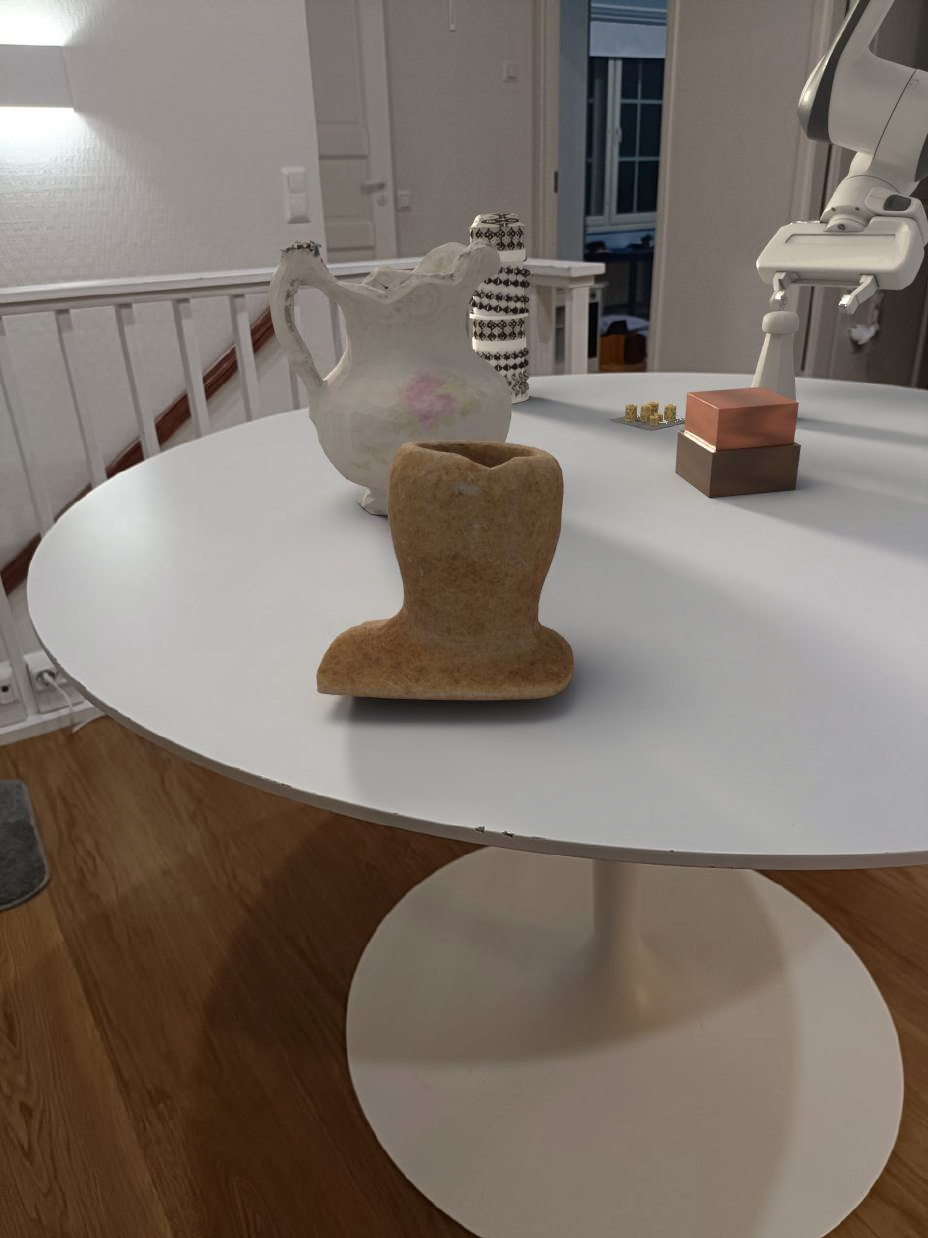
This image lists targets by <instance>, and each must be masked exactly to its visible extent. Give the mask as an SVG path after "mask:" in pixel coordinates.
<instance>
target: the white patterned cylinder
mask: <svg viewBox="0 0 928 1238" xmlns="http://www.w3.org/2000/svg"><path fill="white" fill-rule="evenodd" d="M525 226H526V224H524V223H523V221H522V220H521V217H520V216H519V215H518V214H517V213H515V212H502V213H501V212H499V213H482V214H478V215H476V217H475V218H474V220H473V222H472V225H470V226H469V227H467V228H468V229H469V241H470V243H469V245H470V244H471V243H473V242H475V241H476V240H478V239H479V238H482V240H483V241H487V242H489V243H492V244H496V245H497V252H498V253H499V255H500V261H501V269H500V271H499V272H498V274H496V275H493V276H491V277H490V278H488V279H487V280H485V281H483V282H482V283H480V285H479V286H478V288H477V289H476V290H475V292H474V294H473V296H472V298H471V300H470V302H469V306H471V307H472V310H470V311H469V312H468V314H469V319H472V332H473V337H472V338H471V339H472V348H473V350H474V351H475V352H476V353H477V354H478V355H479V356H480V357H481V358H483V359H484V360H486V361H487V362H488V363H489V364H490V365H491V366H492V367H493V368H494V369H496V370H497V371H498V372H499V373H500V374H501V375H502V376H503V377H504V378H505V379H506V381H507V384H508V386H509V389H510V391H511V398H512V404H518V403H522V402H526V401H527V400H529V397H530V396H529V393H528V392H527V391H529V389H530V384H529V383H528V380H529V379H530V373H529V371H528V370H526V367H528V366H529V365H530V363H529V359H527V358H525V357H527V356H528V355H529V353H530V351H529V349H528V348H527V335H526V321H525V320H526V319H525V318H526V317H528V316H529V313H530V309H528V308H527V307H526V304H528V303H529V302H530V298H529V296H527V295H526V294H525V293H524V292H525V291H526V290H527V289H528V288H530V286H531V282H529V281H528V280H527V279H526V278H528V277H529V276H530V275H531V271H530V270H529V269H528V268H526V267H524V263H525V262H527V260H528V257H527V256H526V248H525ZM499 246H500V247H499ZM524 279H525V280H524Z"/></svg>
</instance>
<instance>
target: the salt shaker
mask: <svg viewBox="0 0 928 1238" xmlns="http://www.w3.org/2000/svg"><path fill="white" fill-rule="evenodd" d="M761 324H762V325H761V329H762V331H763V333H766V334H765V338H764V341H763V345H762V348H761V351H760V355H759V358H758V361H757V365H756V369H755V372H754V376H753V379H752V383H751V387H750V388H753V387H762V388H764V389H767V390H769V391H772V392H774V393H776V394H779V395H781V396H784V397H786V398H788V399H791V400H793V401H796V402H797V389H796V373H795V361H794V346H793V345H794V342H793V334H794V333H796V332H798V330H799V329H800V316H799V315H798V314H797V312H793V311H790V310H789V311H787V310H786V311H785V310H784V311H783V310H779V311H777V310H776V311H772V312H768V313H766V314H765V315H764V316H763V319H762V323H761Z"/></svg>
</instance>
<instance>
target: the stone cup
mask: <svg viewBox="0 0 928 1238" xmlns="http://www.w3.org/2000/svg"><path fill="white" fill-rule="evenodd" d="M564 483H565V482H564V476H563V469H562V467H561V465H560V463H559V460H557V458H556V457H555V456H554V455H552V454H551V453H550V452H548V451H546V450H544V449H541V448H538V447H535V446H530V445H525V444H520V443H514V442H506V441H505V442H494V441H466V440H455V441H442V440H435V441H428V442H427V441H412V442H408V443H405V444H403V445H402V446H400V447H399V448H398V450H397V452H396V454H395V456H394V458H393V461H392V465H391V468H390V472H389V477H388V484H387V512H388V515H387V520H388V525H389V526H388V527H389V529H390V535H391V540H392V545H393V551H394V554H395V558H396V561H397V565H398V568H399V573H400V577H401V581H402V589H403V590H402V591H403V602H402V606H401V608H400V609H399V610H398V612H397V613H396V614H395V615H393V616H392V617H390V618H383V619H374V620H366V621H363V622H361V624H359V625H354V626H350V627H349V628H347V629H346V630H344V631H342V632H340V633H339V634H338V635H337V636H336V637H335V638H334V639H333V641H332V642H331V643H330V645H329V647H328V648H327V650H326V651H325V653H323V656H322V659H321V661H320V663H319V666H318V668H317V670H316V676H315V678H316V692H318V693H319V694H322V695H330V696H344V697H345V696H346V697H361V698H365V697H366V698H378V699H379V698H380V699H395V700H396V699H401V700H402V699H403V700H404V699H405V700H427V701H428V700H432V701H434V700H435V701H514V700H535V699H542V698H543V699H544V698H548V697H553V696H555V695H557V694H559V693H560V692H562V691H564V690H565V689H566V688H567V686H568V685H569V683H570V681H571V679H572V677H573V675H574V671H575V657H574V653H573V649H572V646H571V644H570V643H569V642H568V641H567V639H565V637H564V636H563V635H562V634H560V633H559V632H558V631H556V630H554V629H552V628H550V627H547V626H545V625H542V624H541V622H540V619H539V608H540V601H541V594H542V591H543V588H544V585H545V582H546V579H547V576H548V574H549V572H550V569H551V566H552V563H553V560H554V557H555V554H556V552H557V549H558V548H557V547H558V544H559V540H560V536H561V531H562V519H563V518H562V516H563V515H562V514H563V504H564V491H565V490H564V488H565V487H564V486H565V485H564Z"/></svg>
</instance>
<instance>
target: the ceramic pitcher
mask: <svg viewBox="0 0 928 1238" xmlns="http://www.w3.org/2000/svg"><path fill="white" fill-rule="evenodd" d="M322 246H323V245H322V244H321V243H318V242H314V241H312V240H309V242H306V241H305V242H302V241H299V240H296V241H295V243H294V244H292V242H287V247H286V248H285V249H284V248H283V249H282V248H281V249H280V251H281V255H280V259H279V263H278V264H277V267H276V268H275V270H274V272H273V273H272V275H271V277H270V283H269V288H268V301H269V309H270V317H271V322H272V326H273V330H274V335H275V338H276V340H277V342H278V343H279V345H280V347H281V349H282V351H283V353H284V355H285V358H286V359H287V361H288V363H289V365H290V367H291V369H292V371H293V372H294V374H296V375H297V376H298V378H300V380H301V382H302V384H303V385H304V388H305V391H306V399H307V407H308V418H309V419H310V421H311V422H312V424H313V426H314V427H315V431H316V435H317V440H318V443H319V444H320V446H321V448H322V451H323V453H324V454H325V456H326V458H327V460H328V461H329V462H330V463H331V464H332V465H333V467H334V468H335V469H336V470H337V471H338V473H339V474H340V475H341V476H342V477H343V478H345V480H347V481H349V482H351V483H354V484H355V485H358V486H361V487H365V488H367V489H366V491H365V493H364V495H363V496H362V497H360V499H358V500H357V502H358V504H359V505H360V506H361V507H362V508H363V509H364V510H365V511H366V512H367V513H368V514H371V515H381V516H388V512H387V484H388V477H389V472H390V468H391V465H392V461H393V458H394V456H395V454H396V452H397V450H398V448H399V447H400V446H402V445H403V444H405V443H408V442H412V441H427V442H428V441H435V440H442V441H455V440H466V441H494V442H505V443H506V442H507V438H508V434H509V431H510V427H511V420H512V414H513V413H512V412H513V411H512V410H513V403H512V398H511V391H510V389H509V386H508V384H507V381H506V379H505V378H504V377H503V376H502V375H501V374H500V373H499V372H498V371H497V370H496V369H494V368H493V367H492V366H491V365H490V364H489V363H488V362H487V361H486V360H484V359H483V358H481V357H480V356H479V355H478V354H477V353H476V352H475V351H474V350H473V346H472V345H471V343H470V341H469V338H468V334H467V330H466V318H467V313H468V309H469V306H470V304H469V302H470V300H471V298H472V296H473V294H474V292H475V290H476V289H477V288H478V286H479V285H480V283H482V282H483V281H485V280H487V279H488V278H490V277H491V276H493V275H496V274H498V272H499V271H500V269H501V261H500V255H499V253H498V252H497V245H496V244H492V243H489V242H487V241H483V240H482V238H479V239H478V240H476V241H475V242H473V243H471V244H470V243H469V245H468V246H467V245H465V244H463V243H460V242H456V241H455V242H454V241H449V242H446V243H445V244H442V245H439V246H437V247H434V248H432V249H431V250H430V251H428V252H427V254H425V256H424V257H423V258H422V260H421V261H420V263H419V264H418V265H417V266H416V267H415V268H414V269H413V270H412V269H411V270H410V269H397V268H395V267H392V266H388V265H383V264H382V265H380V266H378V267H376V268H374V269H372V271H371V272H370V273H368V275H367V276H366V277H365V278H364V279H363V280H362V282H361V283H352V282H351V283H349V282H344V281H342V280H341V281H340V280H339V279H338V278H337V277H336V276H334V274H333V273H332V272H331V271H330V270H329V268H328V267H327V264H326V263H325V262H324V259H323V258H322V257H321V253H320V248H322ZM499 247H500V246H499ZM301 286H302V287H303V286H307V287H308V286H309V287H314V288H315V289H317V290H319V291H320V292H321V293H323V294H324V296H326V297H327V298H328V299H330V300H333V301H334V302H335V303H336V304H337V305H338V307H339V311H340V314H341V317H342V320H343V325H344V331H345V334H346V338H345V351H344V353H343V354H342V356H341V357H340V359H339V361H338V363H337V365H336V366H335V367H334V368H333V369H332V370H331V371H330V372H329V373H328V374H327V375H326V377H324V378H322V377H321V375H320V373H319V372H318V369H317V367H316V365H315V363H314V360H313V357H312V354H311V352H310V350H309V348H308V346H307V344H306V343H305V341H304V340H303V337H302V335H301V334H300V332H299V330H298V328H297V325H296V319H295V295H296V291H297V290H298V289H299V288H300V287H301Z"/></svg>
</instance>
